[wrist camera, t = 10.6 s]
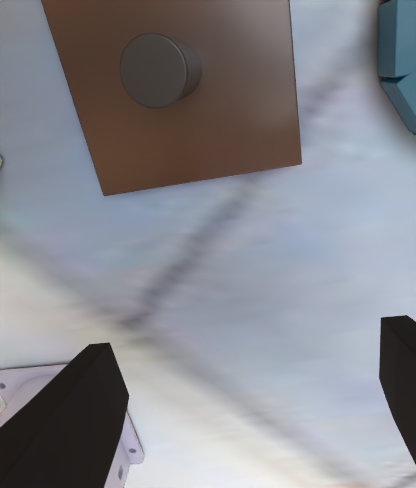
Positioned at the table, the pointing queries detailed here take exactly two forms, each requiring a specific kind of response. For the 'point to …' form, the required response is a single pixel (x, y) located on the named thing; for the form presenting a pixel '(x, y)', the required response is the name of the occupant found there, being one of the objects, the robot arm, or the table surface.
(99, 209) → the table surface
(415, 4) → the ring
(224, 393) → the table surface
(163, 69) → the ring stand
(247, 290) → the table surface
